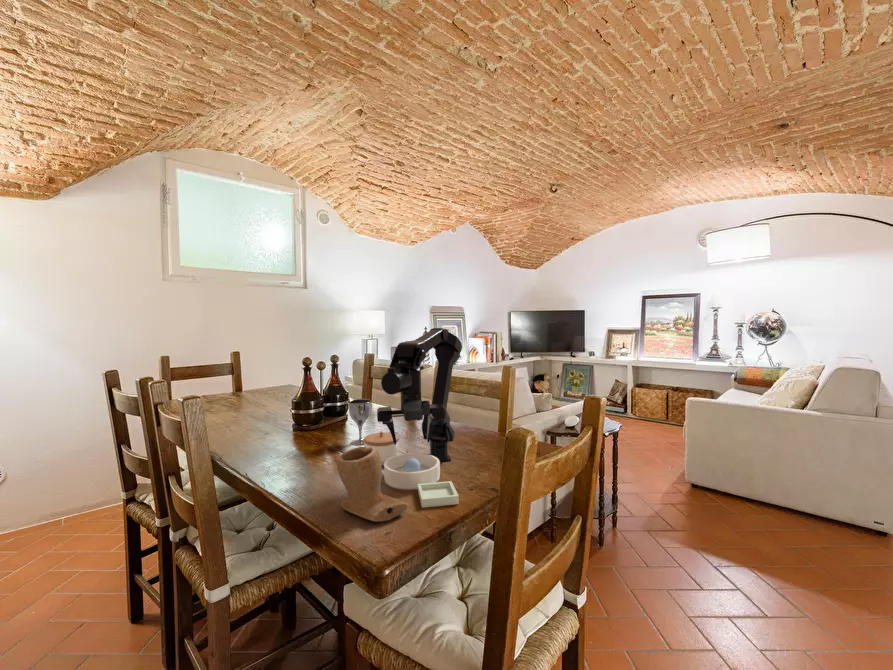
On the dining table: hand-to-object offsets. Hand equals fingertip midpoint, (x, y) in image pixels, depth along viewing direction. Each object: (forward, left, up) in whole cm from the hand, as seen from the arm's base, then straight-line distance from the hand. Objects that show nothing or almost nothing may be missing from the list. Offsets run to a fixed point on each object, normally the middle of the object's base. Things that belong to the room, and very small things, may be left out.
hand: (411, 443), depth 116 cm
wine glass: (-36, -15, -10) cm, 40 cm away
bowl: (0, 0, -10) cm, 10 cm away
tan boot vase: (+18, -12, -10) cm, 24 cm away
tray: (+14, +5, -10) cm, 18 cm away
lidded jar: (-15, -8, -10) cm, 20 cm away
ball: (0, 0, -7) cm, 7 cm away
